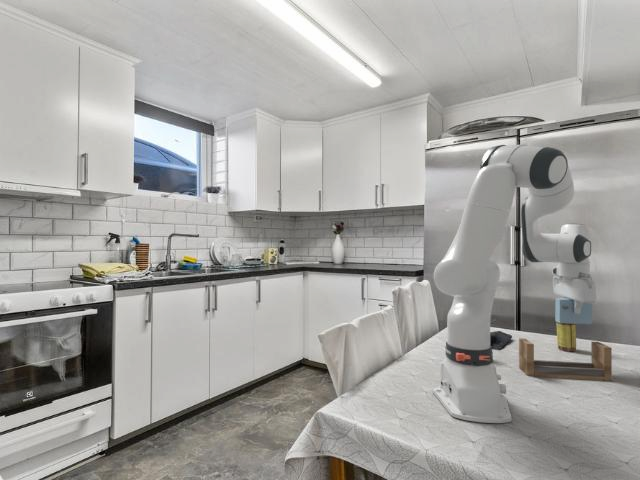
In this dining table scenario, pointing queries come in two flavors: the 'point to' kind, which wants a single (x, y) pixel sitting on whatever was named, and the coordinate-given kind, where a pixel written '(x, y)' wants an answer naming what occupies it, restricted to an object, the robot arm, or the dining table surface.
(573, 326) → the sauce bottle
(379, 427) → the dining table surface
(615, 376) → the dining table surface
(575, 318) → the door panel
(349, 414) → the dining table surface
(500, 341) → the dark grey flat piece
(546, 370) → the wooden rack
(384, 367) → the dining table surface
